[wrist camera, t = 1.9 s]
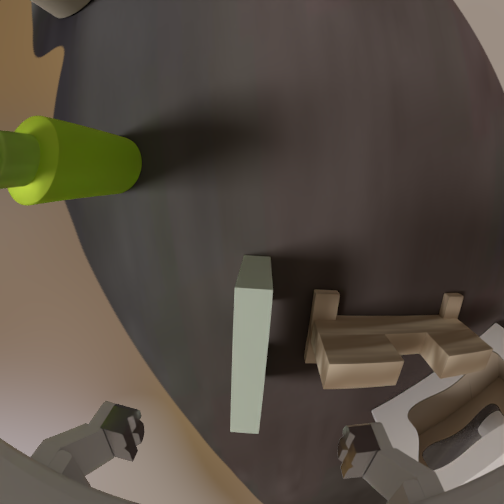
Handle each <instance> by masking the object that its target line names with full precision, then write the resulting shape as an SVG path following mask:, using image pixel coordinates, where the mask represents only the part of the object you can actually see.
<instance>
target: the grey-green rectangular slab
mask: <svg viewBox="0 0 504 504" xmlns="http://www.w3.org/2000/svg"><path fill="white" fill-rule="evenodd" d="M272 297H273V282H272V269H271V257H266V256H251V255H244V257H243V260H242V264H241V267H240V271H239V274H238V278H237V281H236V285H235V294H234V320H233V349H232V383H231V424H230V432H240V433H254V434H259V425H260V417H261V408H262V399H263V390H264V380H265V371H266V361H267V351H268V341H269V330H270V320H271V309H272Z"/></svg>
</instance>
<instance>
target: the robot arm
mask: <svg viewBox="0 0 504 504" xmlns="http://www.w3.org/2000/svg"><path fill="white" fill-rule="evenodd" d="M140 418H141V413H140V411H139V410H137V409H133V408H130V407H126V406H122V405H119V404H115V403H112V402H108V401H105V402H104V403H103V404H102V405H101V407H100V408H99V410H98V411H97V413H96V414H95V415H94V417H93V418H92V420H91V421H90V423H89V424H86V423H85V424H83V425H81V426H78V427H76V428H73V429H71V430H68V431H66V432H63V433H60V434H58V435H55V436H53V437H50V438H47V439H45V440H43V442H42V443H41V444H40V445H39V447H38V448H37V449H36V451H35V452H34V454H33V455H32V456H31V457H29V456H27V455H25V454H24V453H22V452H21V451H19V450H17V449H16V448H14V447H13V446H11V445H10V444H8V443H6V442H5V441H4V440H2V439H1V438H0V504H139V503H135V502H132V501H129V500H125V499H122V498H119V497H116V496H113V495H110V494H108V493H105V492H102V491H100V490H97V489H95V488H92V487H91V486H90V484H89V482H88V481H87V479H86V478H85V476H86V475H87V474H89V473H90V472H92V471H94V470H95V469H97V468H99V467H100V466H102V465H103V464H105V463H106V462H108V461H110V460H111V459H113V458H114V457H118V458H121V459H125V460H129V461H133V460H134V458H135V455H136V453H137V451H138V450H137V447H136V446H137V445H139V444H140V443H141V442H142V440H143V436H144V425H143V423H142V422H141V421H140ZM337 452H338V458H339V460H341V461H342V465H341V471H342V475H343V479H345V478H355V477H363V478H364V479H365V480H366V481H367V482H368V483H369V484H370V485H371V486H372V487H373V488H375V489H376V490H377V491H378V492H379V493H380V494H381V495H382V496H383V497H384V498H386V499H387V500H388V502H387V503H386V504H504V465H502V466H500V467H498V468H496V469H494V470H492V471H490V472H488V473H487V474H485V475H482V476H480V477H478V478H476V479H474V480H472V481H470V482H468V483H465V484H463V485H461V486H458V487H456V488H453V489H451V490H448V491H446V492H445V491H444V489H443V487H442V485H441V483H440V481H439V479H438V477H437V474H436V472H435V471H433V470H431V469H430V468H428V467H426V466H425V465H423V464H421V463H420V462H418V461H416V460H415V459H413V458H411V457H410V456H408V455H407V454H405V453H403V452H402V451H400V450H399V449H397V448H393V447H392V445H391V442H390V440H389V438H388V436H387V433H386V431H385V429H384V427H383V424H382V423H381V422H376V423H369V424H368V423H367V424H358V425H347V426H345V427H344V429H343V437H341V438H340V440H339V442H338V448H337Z"/></svg>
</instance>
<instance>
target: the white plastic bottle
mask: <svg viewBox="0 0 504 504" xmlns="http://www.w3.org/2000/svg"><path fill="white" fill-rule="evenodd" d="M502 424H504V416H503V415H502V414H501V412H500V411H495V412H493V413H491V414H490V415H488V416H487V417H486V418H485V419H484V421H483V422H482V423H481V424H480V426H479V428H478V432H479V434H480V435H481V436H482V437H484V436H485V435H487V434H488V433H490V432H491V431H493V430H494V429H496V428H497V427H499V426H501V425H502Z"/></svg>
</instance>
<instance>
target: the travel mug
mask: <svg viewBox="0 0 504 504" xmlns="http://www.w3.org/2000/svg"><path fill="white" fill-rule="evenodd" d="M30 1H32V2H33V3H35V4H37V5H38V6H40V7H41V8H43V9H45V10H46V11H48V12H49V13H51V14H52V15H54V16H55V17H57V18H65V17H68V16H70V15H72V14H74V13H76V12H77V11H79V10H80V9H82V8H83V7H84V6H85V5H86V4H87V3H88V2H89V1H90V0H30Z"/></svg>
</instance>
